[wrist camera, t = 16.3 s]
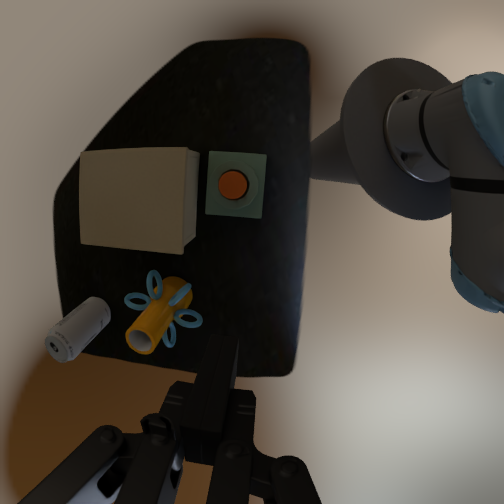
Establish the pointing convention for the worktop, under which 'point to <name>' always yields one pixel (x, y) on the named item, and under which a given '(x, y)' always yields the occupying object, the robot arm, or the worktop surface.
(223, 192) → the button
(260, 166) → the control block
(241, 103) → the worktop surface
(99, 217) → the beige board
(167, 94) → the worktop surface
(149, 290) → the cylinder
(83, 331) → the energy drink can
